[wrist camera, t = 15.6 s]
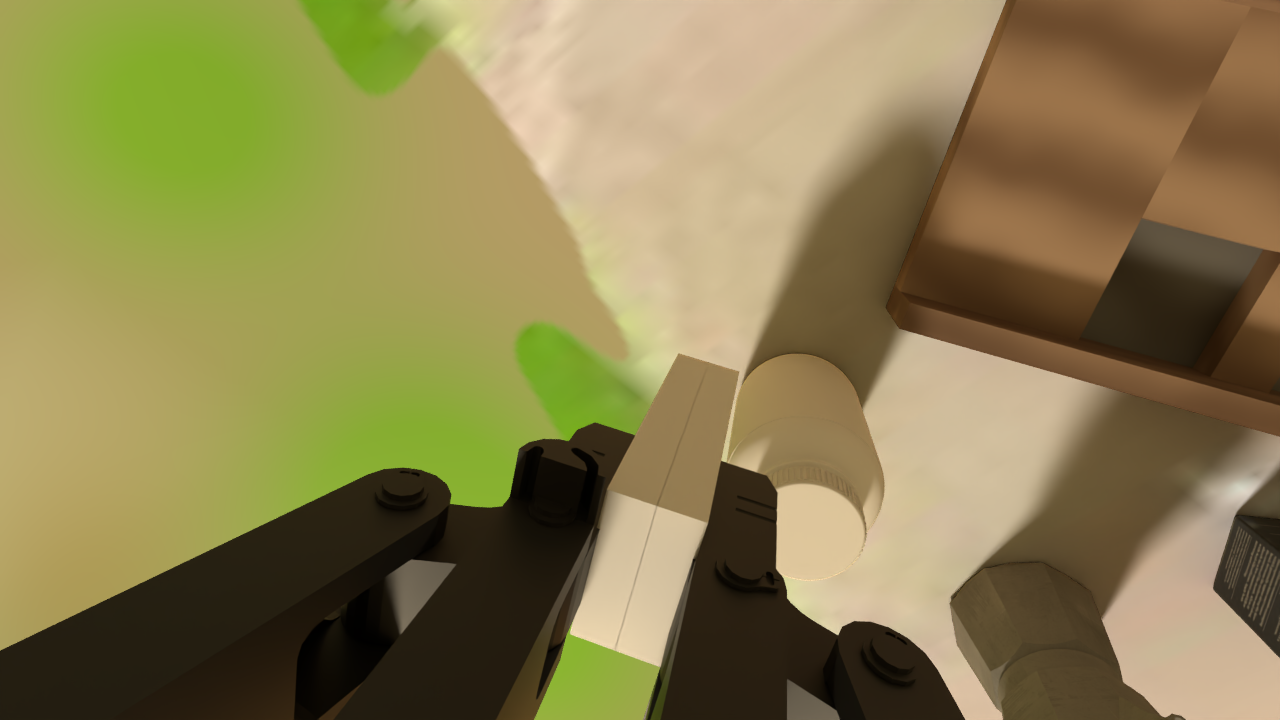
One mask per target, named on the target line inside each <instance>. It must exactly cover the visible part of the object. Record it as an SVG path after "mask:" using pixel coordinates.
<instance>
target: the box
mask: <svg viewBox="0 0 1280 720" xmlns="http://www.w3.org/2000/svg"><path fill="white" fill-rule="evenodd" d="M1213 589H1214V591H1215V592H1216V593H1217V594H1218V595H1219V596H1220V597H1221V598H1222V599H1223V600H1224V601H1225V602H1226V603H1227V604H1228V605H1229V606H1230V607H1231V608H1232V609H1233V610H1234V611H1235V612H1236V614H1237V615H1238V616H1240V617H1241V619H1242V620H1243V621H1244V622H1245V623H1246V624H1247V625H1248V626H1249V627H1250V628H1251V629H1252V630H1253V631H1254V632H1255V633H1256V634H1257V635H1258V636H1259V637H1260V638H1261V639H1262V640H1263V641H1264V642H1265V643H1266V644H1267V645H1268V646H1269V647H1270V649H1271V650H1272V651H1273V652H1274V653H1275V654H1276V655H1277V656H1278V657H1279V658H1280V519H1270V518H1259V517H1250V516H1239V515H1238V516H1236V517H1235V518H1234V522H1233V525H1232V527H1231V531H1230V535H1229V538H1228V541H1227V544H1226V547H1225V551H1224V554H1223V557H1222V560H1221V563H1220V566H1219V569H1218V573H1217V576H1216V580H1215V583H1214V587H1213Z"/></svg>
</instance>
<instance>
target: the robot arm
mask: <svg viewBox="0 0 1280 720" xmlns="http://www.w3.org/2000/svg"><path fill="white" fill-rule="evenodd" d="M738 375H739V372H738V371H735V370H732V369H728V368H725V367H722V366H719V365H715V364H712V363H709V362H705V361H702V360H699V359H695V358H692V357H689V356H685V355H682V354H678V355H677V357H676V359H675V361H674V363H673V365H672V367H671V369H670V371H669V373H668V374H667V376H666V378H665V380H664V382H663V384H662V386H661V388H660V390H659V391H658V393H657V395H656V397H655V399H654V401H653V403H652V405H651V407H650V409H649V410H648V412H647V414H646V416H645V418H644V420H643V422H642V424H641V426H640V427H639V429H638V431H637V433H636V435H632V434H629V433H626V432H623V431H620V430H617V429H614V428H611V427H607V426H604V425H601V424H598V423H593V424H590V425H588V426H585V427H583V428H581V429H578V430H577V431H576V432H575V434H574V435H573V436H572V438H571V439H570V440H569V441H564V440H560V439H556V440H555V439H542V440H537V441H533V442H529V443H527V444H526V445H524V446H523V447H521V448H520V449H519V452H518V457H517V462H516V468H515V473H514V478H513V483H512V489H511V494H510V497H509V499H508V500H507V501H506V502H505V504H504V505H503V506H502V507H492V508H485V507H471V506H463V505H454V504H450V499H451V493H450V490H449V488H448V486H447V484H446V483H445V482H443V481H442V480H441V479H440V478H438V477H437V476H436V475H433V474H430V473H427V472H424V471H422V470H417V469H410V468H393V469H383V470H380V471H377V472H374V473H371V474H368V475H366V476H364V477H362V478H360V479H357V480H355V481H353V482H351V483H349V484H347V485H345V486H343V487H341V488H339V489H337V490H335V491H332V492H330V493H328V494H326V495H324V496H322V497H320V498H318V499H316V500H314V501H312V502H309V503H307V504H305V505H303V506H301V507H299V508H297V509H295V510H293V511H291V512H289V513H287V514H285V515H282V516H280V517H278V518H276V519H274V520H272V521H270V522H268V523H266V524H264V525H261V526H259V527H258V528H255V529H253V530H251V531H249V532H247V533H245V534H243V535H241V536H239V537H236V538H234V539H232V540H230V541H228V542H226V543H224V544H222V545H220V546H218V547H216V548H214V549H211V550H209V551H207V552H205V553H203V554H201V555H199V556H197V557H195V558H193V559H191V560H189V561H186V562H184V563H182V564H180V565H178V566H176V567H174V568H172V569H170V570H168V571H166V572H164V573H161V574H159V575H157V576H155V577H153V578H151V579H149V580H147V581H145V582H143V583H140V584H138V585H137V586H134V587H132V588H130V589H128V590H126V591H124V592H122V593H120V594H118V595H115V596H113V597H111V598H110V599H107V600H105V601H103V602H101V603H99V604H97V605H95V606H93V607H90V608H88V609H86V610H84V611H82V612H80V613H78V614H76V615H74V616H72V617H70V618H68V619H65V620H63V621H61V622H59V623H57V624H55V625H53V626H51V627H49V628H47V629H45V630H42V631H40V632H38V633H36V634H34V635H32V636H30V637H28V638H26V639H24V640H22V641H20V642H17V643H16V644H13V645H11V646H9V647H7V648H5V649H3V650H1V651H0V720H534V718H535V716H536V714H537V712H538V709H539V707H540V704H541V702H542V700H543V698H544V696H545V693H546V691H547V688H548V687H549V684H550V682H551V679H552V677H553V675H554V673H555V670H556V668H557V666H558V663H559V661H560V658H561V654H562V650H563V646H564V642H565V638H566V635H567V632H568V630H569V628H570V626H571V624H572V622H573V624H572V628H571V632H570V634H571V635H574V636H577V637H579V638H582V639H585V640H588V641H591V642H593V643H596V644H599V645H601V646H604V647H607V648H609V649H612V650H615V651H618V652H620V653H623V654H626V655H629V656H631V657H634V658H637V659H639V660H642V661H645V662H648V663H650V664H653V665H656V666H659V667H660V670H659V673H658V676H657V679H656V682H655V685H654V688H653V691H652V694H651V697H650V700H649V703H648V707H647V710H646V713H645V716H644V719H643V720H965V718H964V717H963V715H962V713H961V711H960V709H959V708H958V706H957V704H956V702H955V700H954V699H953V697H952V695H951V693H950V691H949V690H948V688H947V686H946V684H945V682H944V681H943V679H942V677H941V675H940V673H939V672H938V670H937V668H936V667H935V666H934V664H933V663H932V662H931V660H930V659H929V658H928V656H927V655H926V654H925V653H924V652H923V651H922V650H921V649H920V648H919V647H917V646H916V645H915V644H914V643H913V642H912V641H910V640H909V639H908V638H906V637H905V636H903V635H901V634H900V633H898V632H896V631H894V630H892V629H891V628H889V627H885V626H882V625H879V624H876V623H873V622H860V621H854V622H852V623H849V624H847V625H845V626H843V627H842V629H841V631H840V633H839V635H836V634H834V633H833V632H831V631H829V630H828V629H826V628H824V627H823V626H821V625H819V624H818V623H816V622H814V621H813V620H811V619H810V618H808V617H807V616H805V615H804V614H803V613H801V612H800V611H799V610H798V609H797V608H796V607H795V606H794V605H792V604H791V603H790V601H789V600H788V599H787V589H786V586H785V582H784V579H783V577H782V576H781V574H780V573H779V572H778V571H777V569H776V550H777V524H776V523H777V498H778V492H777V491H776V489H775V487H774V486H773V484H772V483H771V481H770V479H769V478H768V476H767V475H763V474H760V473H757V472H754V471H751V470H748V469H745V468H742V467H738V466H735V465H732V464H729V463H726V462H723V461H721V458H722V453H723V448H724V443H725V438H726V434H727V429H728V424H729V419H730V414H731V409H732V404H733V400H734V395H735V390H736V385H737V380H738ZM573 619H574V620H573Z"/></svg>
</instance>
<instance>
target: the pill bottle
mask: <svg viewBox="0 0 1280 720" xmlns="http://www.w3.org/2000/svg"><path fill="white" fill-rule="evenodd" d="M727 463H729V464H732V465H735V466H738V467H742V468H745V469H748V470H751V471H754V472H757V473H760V474H763V475H767V476H768V478H769V479H770V481H771V483H772V484H773V486H774V487H775V489H776V491H777V492H778V498H777V523H776V524H777V550H776V569H777V571H778V572H779V573H780V574H781V575H784V576H786V577H789V578H793V579H798V580H808V581H811V580H821V579H826V578H830V577H833V576H835V575H837V574H839V573H841V572H843V571H844V570H846V569H847V568H849V567H850V566H851V565H852V564H853V563H854V562H855V561H856V560H857V558H858V557H859V556H860V553H861V552H862V551H863V548H864V546H865V543H866V538H867V532H868V531H869V529H870V528H871V527H872V525H873V524H874V522H875V520H876V518H877V516H878V514H879V512H880V509H881V506H882V502H883V498H884V476H883V471H882V467H881V464H880V461H879V458H878V455H877V452H876V449H875V446H874V443H873V440H872V437H871V434H870V431H869V428H868V425H867V423H866V420H865V417H864V414H863V411H862V408H861V405H860V402H859V399H858V396H857V393H856V391H855V389H854V387H853V385H852V384H851V382H850V381H849V379H848V378H847V377H846V376H845V374H844V373H843V372H842V371H841V370H840V369H838V368H837V367H836V366H835V365H833V364H832V363H830V362H828V361H826V360H824V359H822V358H819V357H816V356H813V355H808V354H786V355H781V356H778V357H775V358H772V359H770V360H768V361H766V362H764V363H762V364H761V365H759V366H758V367H757V368H756V369H755V370H753V371H752V372H751V373H750V375H749V376H748V377H747V378H746V380H745V381H744V383H743V385H742V387H741V389H740V391H739V394H738V397H737V400H736V406H735V413H734V419H733V425H732V432H731V438H730V444H729V451H728V457H727Z"/></svg>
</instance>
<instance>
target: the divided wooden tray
mask: <svg viewBox="0 0 1280 720" xmlns="http://www.w3.org/2000/svg"><path fill="white" fill-rule="evenodd" d="M886 309H887V310H888V312H889V314H890V315H891V317H892V318H893V320H894V321H895V323H896V324H897V326H898V327H899V329H902V330H906V331H909V332H913V333H916V334H920V335H924V336H927V337H931V338H934V339H938V340H941V341H945V342H948V343H952V344H955V345H959V346H962V347H966V348H969V349H973V350H976V351H980V352H983V353H987V354H991V355H994V356H998V357H1001V358H1005V359H1008V360H1012V361H1015V362H1019V363H1022V364H1026V365H1029V366H1033V367H1036V368H1040V369H1043V370H1047V371H1050V372H1054V373H1057V374H1061V375H1065V376H1068V377H1072V378H1075V379H1079V380H1082V381H1086V382H1089V383H1093V384H1096V385H1100V386H1103V387H1107V388H1110V389H1114V390H1117V391H1121V392H1124V393H1128V394H1131V395H1135V396H1139V397H1142V398H1146V399H1149V400H1153V401H1156V402H1160V403H1163V404H1167V405H1170V406H1174V407H1177V408H1181V409H1184V410H1188V411H1191V412H1195V413H1198V414H1202V415H1206V416H1209V417H1213V418H1216V419H1220V420H1223V421H1227V422H1230V423H1234V424H1237V425H1241V426H1244V427H1248V428H1251V429H1255V430H1258V431H1262V432H1265V433H1269V434H1272V435H1276V436H1280V0H1007V1H1006V3H1005V6H1004V8H1003V11H1002V13H1001V16H1000V19H999V21H998V24H997V26H996V29H995V31H994V34H993V36H992V39H991V41H990V44H989V47H988V49H987V52H986V54H985V57H984V59H983V62H982V64H981V67H980V69H979V72H978V75H977V77H976V80H975V82H974V85H973V87H972V90H971V92H970V95H969V97H968V100H967V102H966V105H965V108H964V110H963V113H962V115H961V118H960V120H959V123H958V125H957V128H956V130H955V133H954V136H953V138H952V141H951V143H950V146H949V148H948V151H947V153H946V156H945V158H944V161H943V164H942V166H941V169H940V171H939V174H938V176H937V179H936V181H935V184H934V186H933V189H932V191H931V194H930V197H929V199H928V202H927V204H926V207H925V209H924V212H923V214H922V217H921V219H920V222H919V225H918V227H917V230H916V232H915V235H914V237H913V240H912V242H911V245H910V247H909V250H908V253H907V255H906V258H905V260H904V263H903V265H902V268H901V270H900V273H899V275H898V278H897V280H896V283H895V286H894V288H893V291H892V293H891V296H890V298H889V301H888V303H887V306H886Z"/></svg>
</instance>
